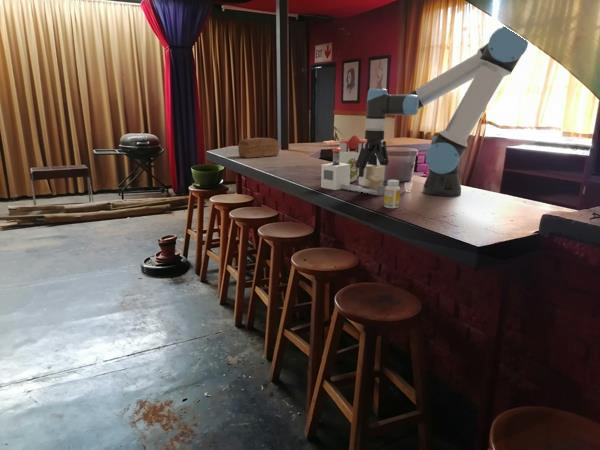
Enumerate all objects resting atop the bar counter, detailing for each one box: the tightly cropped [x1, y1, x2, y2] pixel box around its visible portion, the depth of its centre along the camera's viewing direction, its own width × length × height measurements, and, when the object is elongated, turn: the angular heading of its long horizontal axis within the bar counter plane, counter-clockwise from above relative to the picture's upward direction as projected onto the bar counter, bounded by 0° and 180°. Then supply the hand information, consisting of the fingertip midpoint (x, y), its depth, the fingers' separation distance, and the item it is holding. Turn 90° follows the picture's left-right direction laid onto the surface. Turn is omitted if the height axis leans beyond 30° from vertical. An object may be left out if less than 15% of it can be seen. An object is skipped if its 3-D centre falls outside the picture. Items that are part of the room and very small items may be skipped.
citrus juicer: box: [338, 134, 369, 177], centre depth 219 cm, size 16×17×20 cm
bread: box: [237, 137, 280, 159], centre depth 289 cm, size 14×28×12 cm, turn 127°
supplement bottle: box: [383, 179, 401, 209], centre depth 155 cm, size 5×5×10 cm
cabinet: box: [320, 162, 351, 191], centre depth 189 cm, size 8×10×10 cm
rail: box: [340, 184, 386, 197], centre depth 180 cm, size 20×4×4 cm, turn 47°
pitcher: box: [339, 152, 360, 183], centre depth 203 cm, size 11×18×14 cm, turn 112°
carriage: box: [360, 164, 384, 190], centre depth 176 cm, size 7×5×9 cm
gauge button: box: [331, 147, 341, 165], centre depth 186 cm, size 4×4×7 cm
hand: (371, 182), depth 176 cm, fingers open, 13 cm apart
